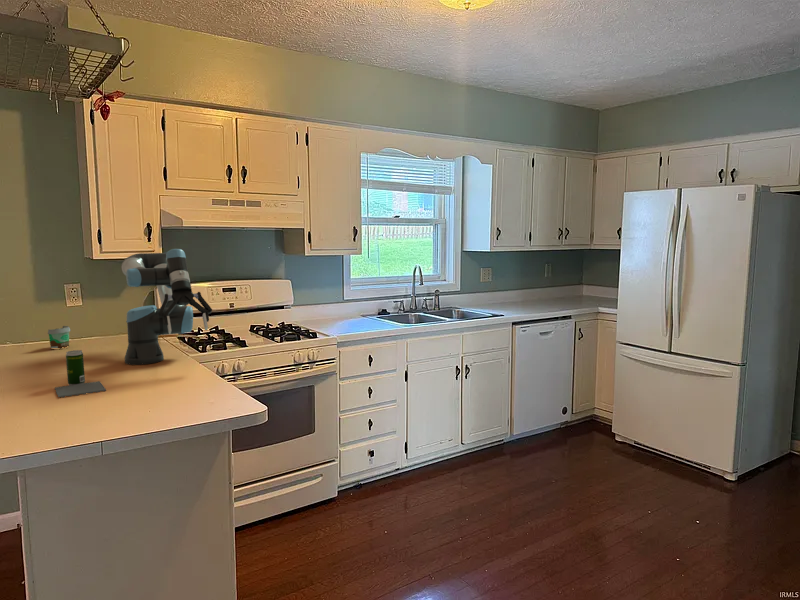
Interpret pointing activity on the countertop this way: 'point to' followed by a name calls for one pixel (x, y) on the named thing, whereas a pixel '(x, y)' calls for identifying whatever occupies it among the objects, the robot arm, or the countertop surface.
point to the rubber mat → (79, 389)
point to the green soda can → (75, 367)
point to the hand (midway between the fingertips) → (188, 330)
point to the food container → (59, 337)
